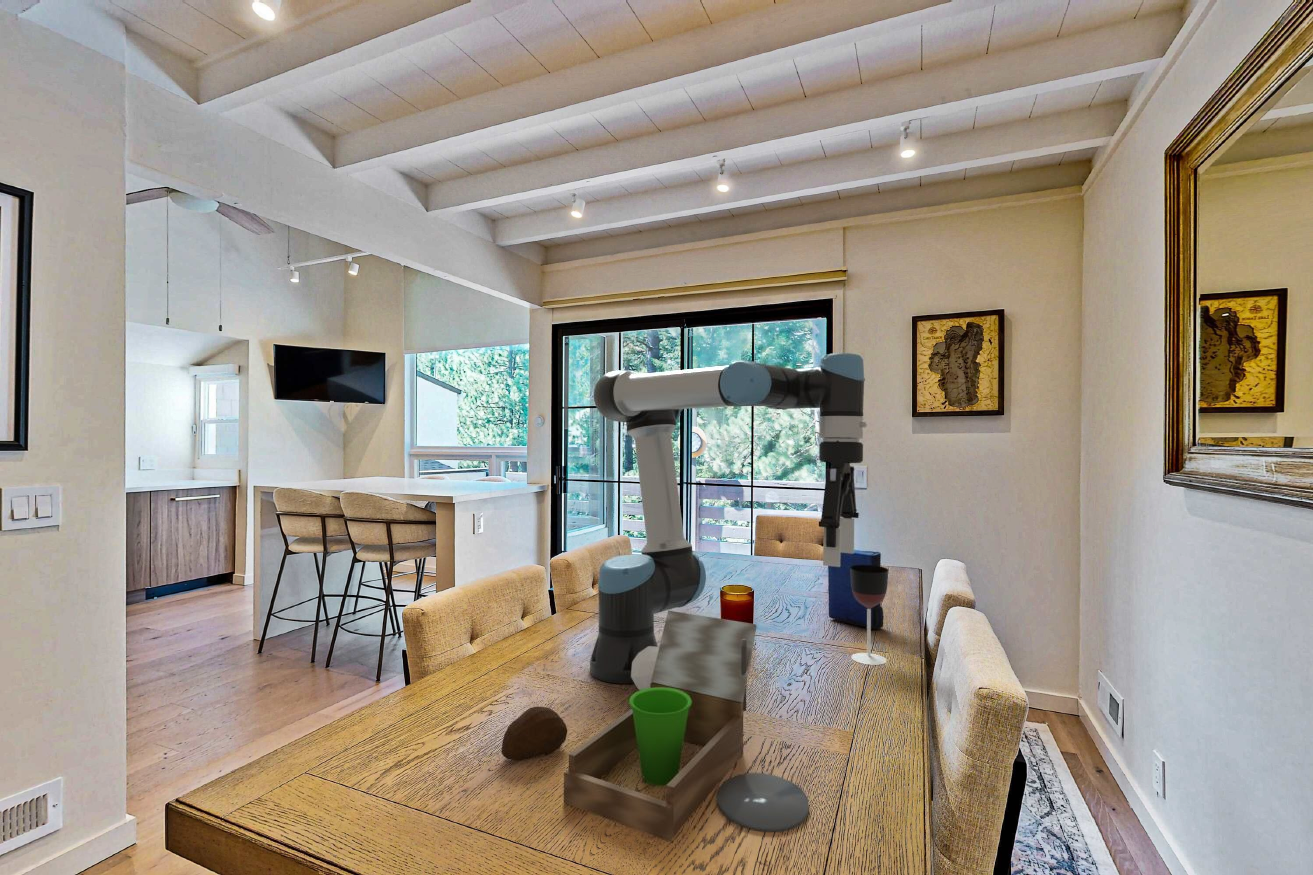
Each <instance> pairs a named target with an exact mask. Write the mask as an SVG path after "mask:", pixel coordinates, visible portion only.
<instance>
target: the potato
mask: <svg viewBox="0 0 1313 875" xmlns="http://www.w3.org/2000/svg"><path fill="white" fill-rule="evenodd" d="M567 736H568V728H567V725H566V722H565V721H564V719H563V718H562V717H561V716H560V715H559V714H558V713H557V711H555V710H553V709H551V708H549V707H545V706H533V707H532V706H531V707H529V708H527V709H526V710H525V711H523V712H522V714H521V715H520V716H518V717H517V718H516V719H514V720H513V721H512V722H511V723H510V724H509V725H508V727H507V729H506V731H505V732H504V735H503V738H502V743H501V754H502V756H503V758H505V759H506V760H510V761H514V762H515V761H516V762H517V761H518V762H519V761H525V760H527V761H528V760H531V759H534V758H538V757H541V756H548V755H551V754H553V753H555V752H556V751H558V750H559V749H560V748H561V747H562V745H563V744H564V743H565V741H566V739H567Z"/></svg>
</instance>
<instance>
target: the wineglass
mask: <svg viewBox="0 0 1313 875" xmlns="http://www.w3.org/2000/svg"><path fill="white" fill-rule="evenodd" d="M850 574H851V587H852V592H853V595H854V597H855V598H856V600H857V601H858V602H859V603H861V604H862V605H864V606H865V607H867V627H866V641H867V642H866V652H857V653H854V654H851V656H850V658H851V659H852V660H853V661H855V662H857V663H860V664H865V665H868V666H870V665H872V666H876V665H877V666H878V665H884V664H886V663H887V661H888V660H887V658H885V657H884V656H882V655H880V654H875V653H871V651H872V650H871V649H872V648H871V643H872V640H871V639H872V638H871V636H872V634H871V633H872V631H871V630H872V629H871V608H872V607H874V606H876V605H878V604H880V603H881V604H882V602H883V601H884V599H885V597H886V595H887V591H888V583H889V569H888V568H886V567H884V566H881V567H880V566H874V565H854V566H851V567H850Z"/></svg>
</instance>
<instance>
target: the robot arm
mask: <svg viewBox="0 0 1313 875" xmlns="http://www.w3.org/2000/svg"><path fill="white" fill-rule="evenodd" d="M864 366H865V365H864V359H863V358H862V356H861V355H859V354H857V353H852V352H851V353H850V352H849V353H847V352H846V353H845V352H839V353H838V352H836V353H829V354H824V355H822V357H820V363H819V366H817V367H812V368H811V367H808V368H804V367H803V368H790V367H783V366H779V365H778V366H777V365H771V364H765V363H760V362H757V361H753V360H737V361H733V362H731V363H730V364H729V365H721V366H720V365H719V366H711V367H699V368H693V369H692V368H691V369H689V368H688V369H682V370H681V369H680V370H670V371H662V372H661V371H660V372H659V371H658V372H651V373H648V372H647V373H646V372H638V371H635V370H621V369H620V370H611V371H608V372H607V373H604V374H603V375H602V376H601V377H600V378H599V379H598V380H597V382H596V384H595V385H594V389H593V401H594V405H595V407H596V409H597V410H598V412H599V413H600V415H602V416H603V417H605V418H606V419H608V420H610V421H613V422H617V423H618V422H619V423H625V424H626V426H625V427H626V432H627V435H629V436H630V437H631V438H633V440H634V443H635V444H634V445H635V452H636V453H635V456H636V461H637V462H636V463H637V469H638V471H637V472H638V480H639V486H640V488H639V489H640V494H641V495H640V496H641V504H642V512H643V520H644V521H643V522H644V527H645V528H644V529H645V537H646V544H645V545H644V547H643V548H642V549H641V553H631V554H623V555H617V556H614V557H611V558H609V559H607V560H605V561H604V562H603V563H602V564H601V565H600V567H599V574H598V575H599V576H598V581H597V588H598V635H597V637H596V640H595V643H594V648H593V650H592V653H591V657H590V661H589V672H590V674H591V676H592V677H594V678H595V679H597V680H598V681H599V680H600V681H602V682H604V683H605V682H606V683H610V684H621V685H623V684H624V685H625V684H626V685H627V684H635V683H634V681H633V680H632V678H631V670H632V662H633V660H634V659H635V657H636V656H637V654H638V653H639V652H641V651H642V650H644V649H645V648H647V647H648V646H654V647H659V646H658V642H657V639H656V637H655V636H656V635H655V631H654V630H655V628H654V627H655V614H659V613H661V612H665V611H670V610H673V609H677V608H683V607H685V606H687V605H688V604H692V603H694V602H695V601H696V600H698V599H699V597H700V596H701V594H702V593H703V591H704V589H705V586H706V581H707V573H706V572H707V571H706V568H705V565H704V563H703V561H702V560H700V557H699V556H698V555H697V554H696V553H694V551H693V545H692V543H691V542H689V541H688V540H687V539H686V538H685V535H684V528H683V526H684V525H683V518H682V512H681V511H682V510H681V505H680V503H681V502H680V496H679V488H678V480H677V479H678V478H677V472H676V464H675V456H674V446H673V440H672V435H673V433H674V431H675V430H676V429H677V421H678V419H679V418H680V416H681V415H682V414H681V412H682V411H683V410H685V409H705V408H706V409H707V408H709V409H710V408H722V407H723V408H727V407H734V408H735V407H766V408H767V409H770V410H771V409H772V410H783V411H784V410H794V409H795V410H798V409H819V428H818V429H819V430H818V431H819V432H818V433H819V434H818V436H819V438H820V439H822V441H820V443H819V446H818V448H819V449H818V450H819V451H818V452H819V453H818V458H819V459H818V460H819V461H820V462H821V463H829V464H830V465H831V466H830V468H826V469H825V482H824V483H825V485H824V491H823V500H822V501H823V502H822V509H821V519H820V521H818V527H820V528H823V542H822V543H823V545H822V546H823V552H822V553H823V554H822V557H823V558H822V566H826V567H828V566H835V567H840V552H841V553H851V554H853V553H854V550H855V519H859V518H860V517H859V515H860V513H859V512H858V510H857V504H856V503H857V501H856V490H855V488H856V487H855V466H854V465H852V466H851V465H850V464H860V463H862V462H863V460H864V444H863V442H860V440H861V439H863V437H864V436H863V435H864V430H863V428H866V427H868V426H867V422H866V421H863V420H864V394H865V392H864V390H865V381H866V379H865V371H864V370H865V368H864Z"/></svg>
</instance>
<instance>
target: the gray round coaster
mask: <svg viewBox="0 0 1313 875" xmlns="http://www.w3.org/2000/svg"><path fill="white" fill-rule="evenodd" d="M716 791H717V792H716V804H717V805H716V806H717V807H718V809H719V811H720V813H721V814H722V815H723V816H724V817H725V818H727V819H728V820H729V821H730V822H732V823H734V824H735V825H737V826H740V827H742V828H745V829H747V830H751V831H757V832H763V833H779V832H784V831H785V832H786V831H789V830H792V829H794V828H797V827H799V826H800V825H802V824H803V823H804V822H805V821H806V819H807V818H808V816H809V812H810V811H809V799H808V796H807V795H806V793H805V791H803V789H802V788H801V787H799V786H798V785H797V784H795V783H794V782H792V781H790V780H788V779H787V778H784V777H781V776H778V775H774V774H770V773H769V774H768V773H762V772H749V773H748V772H747V773H741V774H737V775H734V776H730V777H729V778H727V779H725V780H724V781H722V782H721V784H720V785H719V787H718V788H717V790H716Z"/></svg>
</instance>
